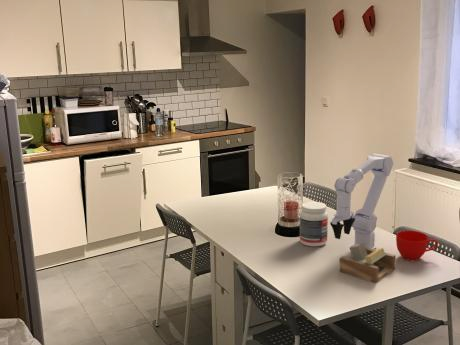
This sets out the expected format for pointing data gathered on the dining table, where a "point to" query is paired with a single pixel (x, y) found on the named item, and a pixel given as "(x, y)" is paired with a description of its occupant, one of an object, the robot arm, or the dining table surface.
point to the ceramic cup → (413, 244)
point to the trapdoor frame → (368, 267)
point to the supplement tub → (313, 224)
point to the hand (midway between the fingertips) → (342, 236)
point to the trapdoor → (374, 256)
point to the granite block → (358, 252)
